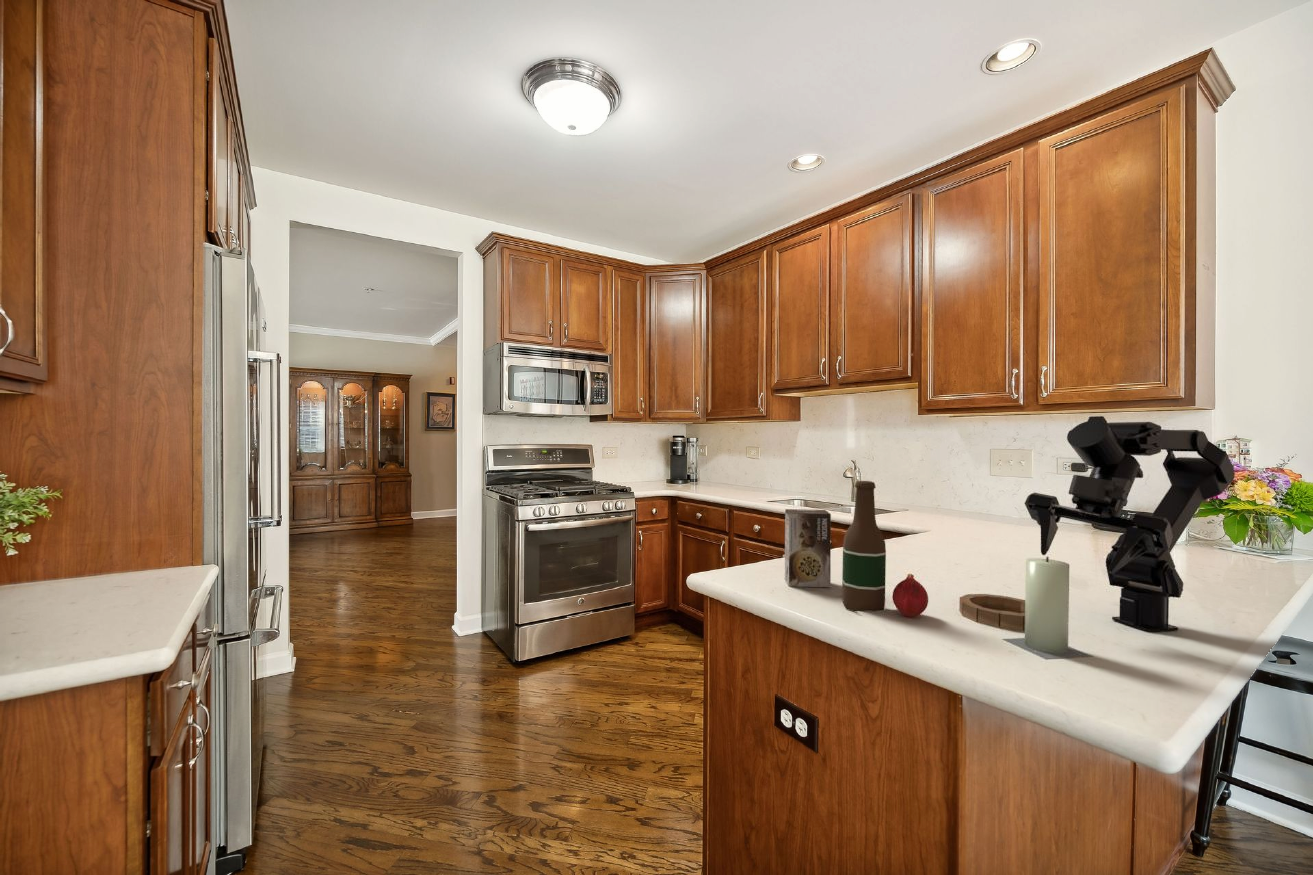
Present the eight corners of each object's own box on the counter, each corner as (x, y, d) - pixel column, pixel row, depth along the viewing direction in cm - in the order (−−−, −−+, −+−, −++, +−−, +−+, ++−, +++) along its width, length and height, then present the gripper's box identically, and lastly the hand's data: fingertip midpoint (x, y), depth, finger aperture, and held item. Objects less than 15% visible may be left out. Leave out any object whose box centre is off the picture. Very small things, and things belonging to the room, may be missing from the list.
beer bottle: (888, 606, 105) (890, 481, 105) (880, 617, 99) (883, 483, 99) (846, 599, 109) (848, 479, 110) (836, 609, 103) (838, 481, 103)
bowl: (1005, 608, 105) (1005, 593, 105) (1066, 632, 92) (1066, 614, 92) (944, 611, 103) (944, 595, 103) (998, 635, 90) (998, 617, 90)
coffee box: (824, 580, 124) (825, 509, 124) (831, 588, 118) (832, 513, 118) (783, 579, 125) (784, 508, 125) (787, 586, 118) (789, 511, 119)
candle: (1045, 640, 87) (1047, 552, 87) (1077, 653, 81) (1078, 560, 82) (1016, 641, 86) (1017, 553, 86) (1045, 655, 81) (1047, 561, 81)
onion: (932, 625, 95) (932, 579, 95) (896, 622, 96) (897, 576, 96) (922, 615, 100) (923, 571, 100) (889, 612, 101) (889, 569, 101)
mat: (1045, 640, 88) (1045, 636, 88) (1093, 660, 80) (1093, 656, 80) (1002, 642, 87) (1002, 639, 87) (1045, 663, 79) (1045, 659, 79)
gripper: (1034, 447, 96) (998, 521, 92) (1177, 466, 80) (1142, 556, 76) (1049, 483, 101) (1016, 554, 97) (1185, 507, 86) (1153, 592, 82)
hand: (1075, 562), depth 88 cm, fingers open, 9 cm apart
